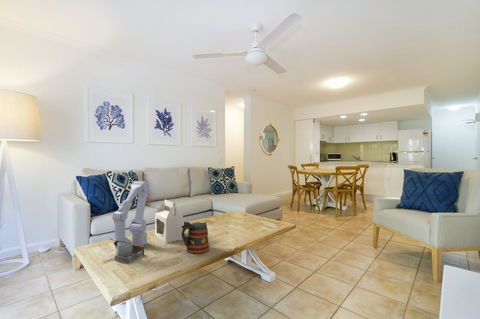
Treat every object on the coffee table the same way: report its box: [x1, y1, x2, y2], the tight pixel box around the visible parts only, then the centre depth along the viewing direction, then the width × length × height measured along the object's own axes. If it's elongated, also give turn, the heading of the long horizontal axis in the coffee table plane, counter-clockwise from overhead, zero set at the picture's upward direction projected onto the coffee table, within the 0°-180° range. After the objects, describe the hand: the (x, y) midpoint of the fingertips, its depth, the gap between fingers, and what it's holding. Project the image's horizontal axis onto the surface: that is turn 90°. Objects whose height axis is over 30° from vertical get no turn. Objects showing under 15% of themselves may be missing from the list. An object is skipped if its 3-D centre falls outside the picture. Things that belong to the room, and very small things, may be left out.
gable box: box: [154, 199, 184, 244], centre depth 172 cm, size 22×13×28 cm, turn 40°
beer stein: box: [182, 221, 210, 254], centre depth 147 cm, size 19×15×20 cm
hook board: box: [114, 244, 145, 264], centre depth 137 cm, size 13×21×5 cm, turn 67°
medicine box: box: [115, 239, 133, 258], centre depth 136 cm, size 8×4×9 cm, turn 128°
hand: (119, 253), depth 138 cm, fingers closed
